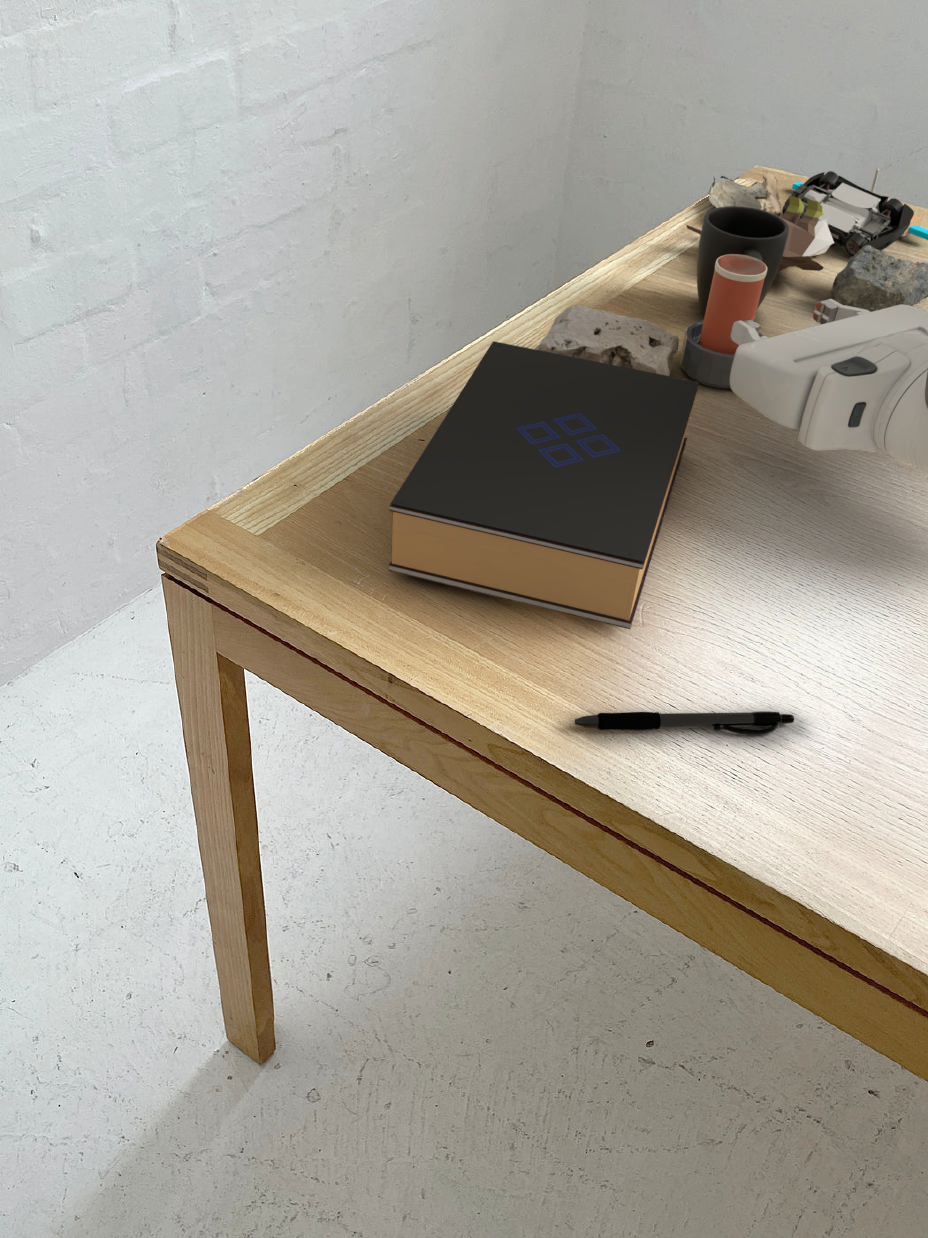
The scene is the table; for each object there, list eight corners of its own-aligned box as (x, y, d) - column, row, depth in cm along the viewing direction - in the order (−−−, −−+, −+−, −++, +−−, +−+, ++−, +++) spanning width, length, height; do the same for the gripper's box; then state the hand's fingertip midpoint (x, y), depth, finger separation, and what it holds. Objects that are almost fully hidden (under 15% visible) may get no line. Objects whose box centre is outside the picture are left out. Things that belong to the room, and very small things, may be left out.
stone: (682, 407, 100) (674, 357, 108) (688, 345, 96) (679, 299, 104) (533, 406, 101) (535, 358, 109) (533, 346, 97) (535, 300, 105)
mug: (689, 345, 110) (709, 250, 103) (683, 291, 119) (701, 201, 112) (774, 353, 109) (799, 259, 103) (762, 299, 118) (784, 209, 112)
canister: (737, 356, 107) (762, 255, 101) (746, 380, 104) (772, 277, 97) (690, 354, 107) (712, 252, 101) (697, 377, 104) (720, 274, 97)
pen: (800, 729, 70) (794, 738, 71) (794, 706, 71) (788, 715, 72) (578, 732, 69) (575, 742, 69) (575, 709, 70) (572, 718, 70)
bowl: (750, 354, 109) (758, 321, 107) (765, 393, 103) (774, 359, 101) (674, 350, 109) (681, 316, 106) (684, 389, 103) (692, 354, 101)
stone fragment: (690, 240, 130) (705, 277, 132) (760, 216, 125) (775, 255, 128) (717, 163, 142) (731, 199, 144) (782, 139, 137) (795, 176, 140)
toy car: (922, 209, 126) (921, 238, 129) (815, 163, 134) (817, 191, 137) (877, 252, 125) (877, 280, 128) (772, 203, 133) (775, 230, 136)
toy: (886, 292, 122) (906, 228, 117) (763, 312, 116) (780, 246, 112) (796, 235, 132) (812, 174, 128) (680, 251, 127) (692, 188, 122)
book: (387, 579, 80) (389, 502, 76) (486, 410, 98) (492, 340, 94) (628, 638, 77) (644, 561, 72) (684, 451, 95) (699, 381, 91)
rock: (872, 341, 114) (893, 297, 110) (806, 291, 119) (824, 247, 116) (952, 324, 119) (975, 281, 116) (886, 277, 125) (906, 234, 122)
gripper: (1002, 330, 91) (876, 262, 100) (816, 382, 82) (696, 303, 91) (974, 399, 95) (856, 328, 104) (794, 455, 87) (681, 373, 95)
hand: (780, 317), depth 97 cm, fingers open, 8 cm apart
